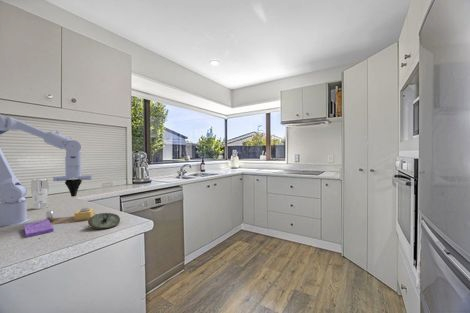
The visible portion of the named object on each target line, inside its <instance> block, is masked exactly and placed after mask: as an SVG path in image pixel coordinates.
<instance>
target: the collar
mask: <svg viewBox="0 0 470 313" xmlns="http://www.w3.org/2000/svg"><path fill="white" fill-rule="evenodd" d="M80 210H81V209H78V210H77V211H75V213H74V214H73V216H74V218H75V221H76V220H86V219H89V218H91V217H92V216H94V214H95V208H89V211H88V212H80Z"/></svg>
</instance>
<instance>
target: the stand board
mask: <svg viewBox="0 0 470 313" xmlns="http://www.w3.org/2000/svg"><path fill="white" fill-rule="evenodd" d="M89 209H90V207H83V208H80V209H79V210H80V212H88V211H89ZM96 214H97V213H94V215H96ZM47 219H48V220H49V221H50V223H51V225H52V226H53V225H60V224H70V223H80V222H88V220H89V219H86V220H76V221H75V218H74V215H73V216H65V217H55V218H54V211H53V210H50V211H49V210H48V211H46V218H45V219H44V220H47Z"/></svg>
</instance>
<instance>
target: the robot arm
mask: <svg viewBox="0 0 470 313" xmlns="http://www.w3.org/2000/svg"><path fill="white" fill-rule="evenodd" d="M10 130H11V131H22V132H24V133H28V134H30V135H33V136H36V137H38V138H41V139H42V140H43V141H44V143H45V144H47V145H50V146H53V147H55V148H58V149H60V150H65V158H64V159H65V162H64V163H65V168H64V169H65V175H64V176H63V175H62V176H60V175H59V176H53V177H52V180H53V181H52V182H64V183H65V184H64V185H65V186H66V187H67V189H68V190H69V193H70V197H71V198H73V197H76V196H77V194H78V190H79V188H80V186H81V184H82V182H83V181H85V180H86V181H87V180H88V181H92V180H94V178H93V175H90V174H89V175H86V174H85V175H82V153H81V150H82V145H81V143H80V142H79V141H77V140H74V139H73V140H72V137H70V136H68V137H67V136H65V135H63V134H61V133H60V132H59V131H52V130H51V131H45V130H42V129H40V128H38V127H35V126H33V125H31V124H28V123H27V122H24V121H22V120H19V119H16V118H13V117H10V116H7V115H2V114H1V113H0V137H1V136H2V135H3V134H5V133H7V132H9V131H10ZM27 193H28V189H27V187H26V186H25V185H24V184H22V183H21V182H20V180H19V179H18V178H17V176H16V175H15V174H14V171H13V169H12V167H11V166H10V164H9V162H8V159H7V158H6V156H5V154H4V152H3V151H2V148H1V147H0V200H1V201H0V227H3V226H12V225H13V226H14V225H22V224H25V222H28V221H29V220H32V218H28V212H27V211H28V208H27V206H28V205H27V204H28V202H27V198H25V196H26V195H27Z"/></svg>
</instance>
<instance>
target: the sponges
mask: <svg viewBox="0 0 470 313" xmlns="http://www.w3.org/2000/svg"><path fill="white" fill-rule="evenodd" d="M46 219H47V218H46ZM23 230H24V234H25V238H30V237H35V236H39V235H44V234H47V233H52V232H55V230H54V226H53V225H51V223H50V221H49V220H48V219H47V220H45V219H43V220H39V221H35V222H29V223H23Z"/></svg>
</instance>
